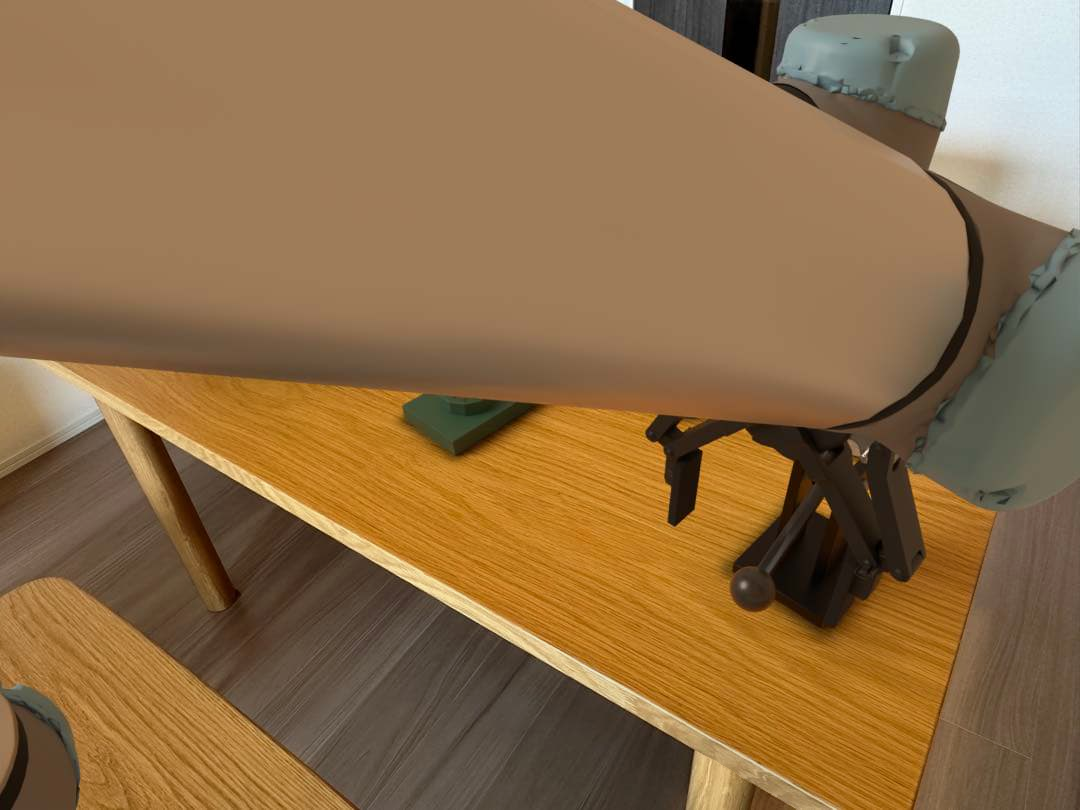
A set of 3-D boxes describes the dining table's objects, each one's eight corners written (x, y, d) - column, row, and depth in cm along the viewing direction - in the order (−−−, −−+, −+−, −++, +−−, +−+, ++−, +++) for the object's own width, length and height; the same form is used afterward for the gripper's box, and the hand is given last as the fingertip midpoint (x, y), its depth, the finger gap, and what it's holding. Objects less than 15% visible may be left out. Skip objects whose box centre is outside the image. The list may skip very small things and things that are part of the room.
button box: (455, 456, 80) (450, 429, 78) (404, 419, 86) (399, 393, 83) (536, 404, 87) (534, 378, 84) (484, 373, 93) (481, 348, 90)
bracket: (820, 629, 60) (857, 520, 51) (731, 571, 65) (751, 464, 57) (878, 556, 66) (920, 447, 57) (792, 508, 71) (819, 402, 63)
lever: (762, 626, 56) (756, 615, 53) (725, 600, 58) (717, 588, 55) (861, 477, 59) (861, 459, 56) (822, 457, 61) (819, 439, 58)
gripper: (1075, 379, 35) (941, 629, 48) (673, 241, 49) (655, 461, 62) (1024, 452, 31) (893, 703, 44) (603, 278, 45) (599, 505, 58)
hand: (753, 561), depth 53 cm, fingers open, 13 cm apart
